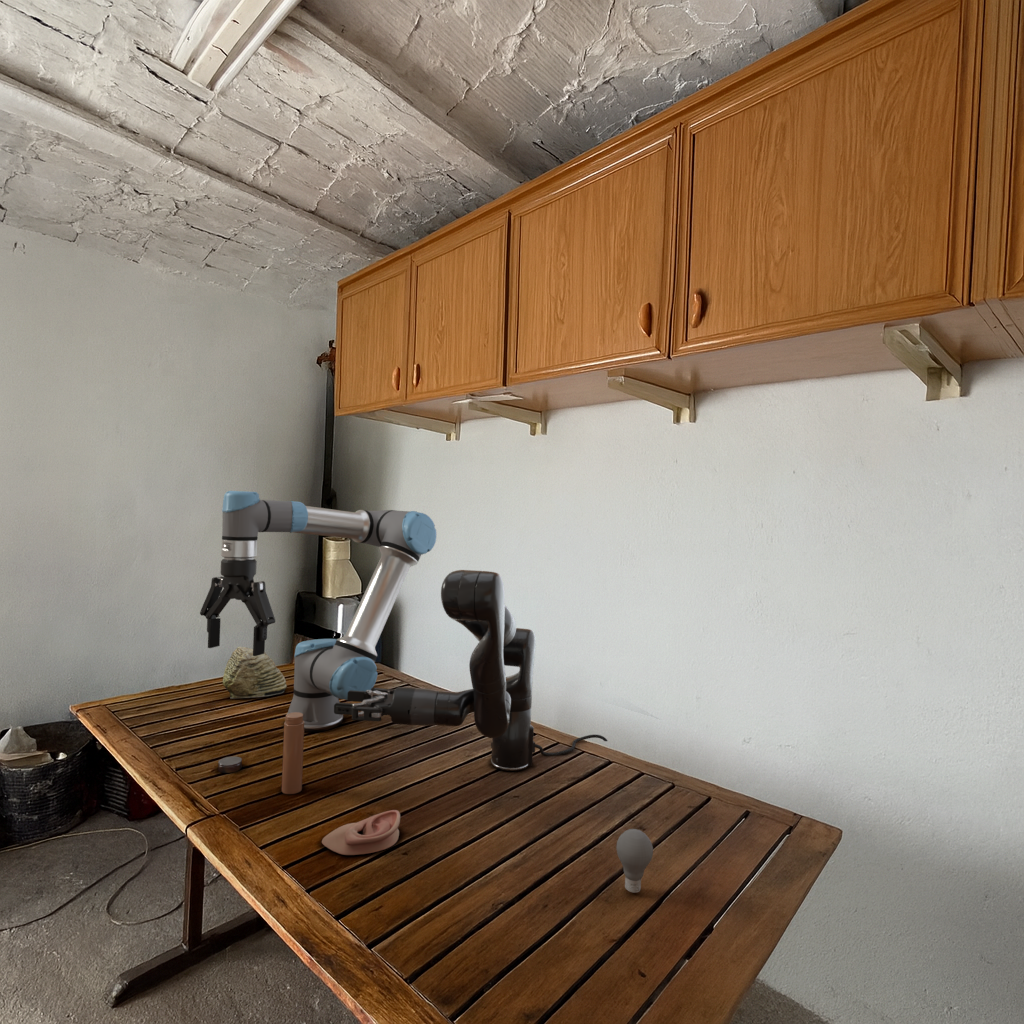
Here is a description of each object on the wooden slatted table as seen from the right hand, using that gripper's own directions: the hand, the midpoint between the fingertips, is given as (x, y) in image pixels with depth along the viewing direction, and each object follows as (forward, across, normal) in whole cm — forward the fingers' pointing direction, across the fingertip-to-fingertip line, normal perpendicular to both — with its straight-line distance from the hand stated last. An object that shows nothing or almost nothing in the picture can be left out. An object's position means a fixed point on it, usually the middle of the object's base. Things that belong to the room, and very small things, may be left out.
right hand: (341, 701), depth 135 cm
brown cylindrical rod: (+10, 0, +20) cm, 22 cm away
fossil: (+47, -60, +20) cm, 79 cm away
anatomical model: (-10, +17, +20) cm, 28 cm away
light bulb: (-59, +26, +20) cm, 68 cm away
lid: (+28, -8, +18) cm, 34 cm away
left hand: (+28, -8, -7) cm, 30 cm away
